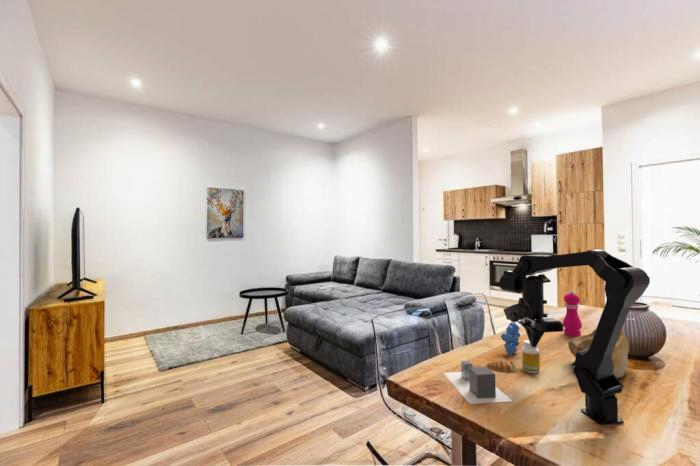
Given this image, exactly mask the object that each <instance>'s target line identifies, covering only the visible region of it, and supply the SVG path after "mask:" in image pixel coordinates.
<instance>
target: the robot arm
mask: <svg viewBox="0 0 700 466" xmlns="http://www.w3.org/2000/svg"><path fill="white" fill-rule="evenodd" d="M581 266H589V267H590V268H591V269H592V270H593V272H594V273H595V274H596V276H597V277H598V278H600V279H601V280H603V281H604V282H605V283H604V290H603V291H604V294H605V298H606V301H605V304H604V306H603V310H602V312H601V315H600V317H599V319H598V320H599V321H598V323H597V326H596V331H595V334H594V337H593V339H592V342H591V345H590V348H589V349H588V350H584V351H580V352H577V354H576V358H575V357H574V358H575V359H574V361H573V363H572V364H571V366H572V367H573V371H572V372H573V374H574V376H575V378H576V380H577V384H578V386H579V389H580V391H581V393H583V394H584V398H585V400H584V401H585V403H584V405H585V407H584V408H580V412H582V413H583V414H584V415H586V416H587V417H589V418H590V419H592V420H593V421H594V422H596V423H597V424H599V425H608V424H609V425H610V424H623V423H625V420H624V419H623V418H621V417H619V415H618V414H619V413H618V411H619V410H618V409H619V407H618V405H619V404H618V397H617V396H616V395H618V394H621V393H622V392H623V389H624V387H625V386H624V385H623V384H622V382H621V381H620V380H619V378H616V376H615V375H614V374H613V368H614V364H613V360H612V353H613V351H614V348H615V346H616V343H617V340H618V338H619V335H620V333H621V330H622V328H623V327H624V325H625V322H626V320H627V318H628V314H629V313H630V310H631V307H632V306H633V305H634V304H635V303H637V301H638V300H639V298H641V297H642V296H643V294H644V293H645V292H646V291H647V288H649V285H650V282H651V280H650V277H649V275H648V273H647V272H646V271H645V270H643V269H642V268H640V267H635V266H633V265H631V264H629V263H628V262H625V261H624V260H622V259H619V258H618V257H615V256H613V255H612V254H610V253H609V252H607V251H605V250H603V249H599V248H598V249H588V250H586V251H581V252H579V251H578V252H569V253H563V254H562V253H561V254H556V255H551V254H550V255H549V254H524V255H521V256H520V257H519V259H518V263H517V264H516V265H515V267H514V269H513V270H503V274H502V275H501V276H500V279H499V280H498V284H499V285H498V286H499V288H500V290H502V291H505V292H510V293H516V294H522V295H521V296H522V297H519V299H518V301H517V302H518V303H516V304H512V305H510V306H507V307H504V308H503V313H504V315H505V318H506V320H509V321H511V322H515V323H518V324H519V325H521V326H522V327H523V328H524V330H525V332H526V335H527V338H528V340H529V341H530V344H531V346H532V347H536V346H537V347H538V344H539V343H540V342H541V341H540V340H541V339H542V337H543V335H544V334H545V333H556V332H557V333H558V332H562V333H563V332H564V326H563V322H561V321H560V320H557V319H556V318H553V317H548V313H545V309H544V307H545V306H544V305H545V304H547V305H548V301H547V300H546V299H545V298H544V294H545V293H544V284H545V283H551V279H550V278H548V277H547V276H546V275H545V274H544V273H546V272H549V271H552V270H554V269H560V268H561V269H562V268H570V267H581ZM536 274H538V275H536ZM623 329H624V328H623ZM537 347H536V348H537Z"/></svg>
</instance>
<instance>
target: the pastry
mask: <svg viewBox="0 0 700 466" xmlns="http://www.w3.org/2000/svg"><path fill="white" fill-rule="evenodd" d="M485 367H488V368H489V369H490V370H491V371H492V370H493V371H497V372H503V373H504V372H505V373H506V372H507V373H517V368H516V364H515V361H514V360H510V361H509V360H501V359H500V360H497V361H491V362H488V363H486V365H485Z"/></svg>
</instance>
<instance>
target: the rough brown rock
mask: <svg viewBox="0 0 700 466" xmlns="http://www.w3.org/2000/svg"><path fill="white" fill-rule="evenodd" d="M595 331H596V329H594V330H593V331H591V333H589V334H585V335H580V336H575V337H573V338H571V339H569V341H568V343H567V346H568V349H569V351H570V353H571V354H572V355H573V356H574V358H576V354H577V352H580V351H584V350H588V349H589V348H590V345H591V342H592V339H593V337H594V334H595ZM629 347H630V346H629V341H628V339H627V336H626V332H625V330H624V328H622V330H621V333H620V335H619V338H618V340H617V343H616V346H615V348H614V351H613V353H612V360H613V364H614V368H613V374H614V375H615V376H616V378H617V379H620V378H623V377H624V375H625V373H626V371H627V368H628V366H629V359H628V357H629V355H628V354H629V352H630V350H629V349H630V348H629Z"/></svg>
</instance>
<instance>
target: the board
mask: <svg viewBox="0 0 700 466" xmlns="http://www.w3.org/2000/svg"><path fill="white" fill-rule="evenodd" d="M443 375H444V376H445V377H446V378H447V379H448V380H449V382H450V383H451V384H452V385H453V387H455V389H456V390H457V391H458V392H459V393H460V395H462V397H463V398H464V399H465V400H466V402H467V403H468V404H469V405H474V404H489V403H503V402H504V403H506V402H507V403H508V402H513V400H512V399H511V398H509V397H508V396H507V395H506V394H505V393H504V392H503V391H501V390H500V388H498V387H497V386H496V398H479V399H478V398H477V397H476V396H475V395H474V394H473V393H472V392H471V391H470V381H469V380H464V379H463V378H462V376H461V371H454V372H452V371H451V372H443Z"/></svg>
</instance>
